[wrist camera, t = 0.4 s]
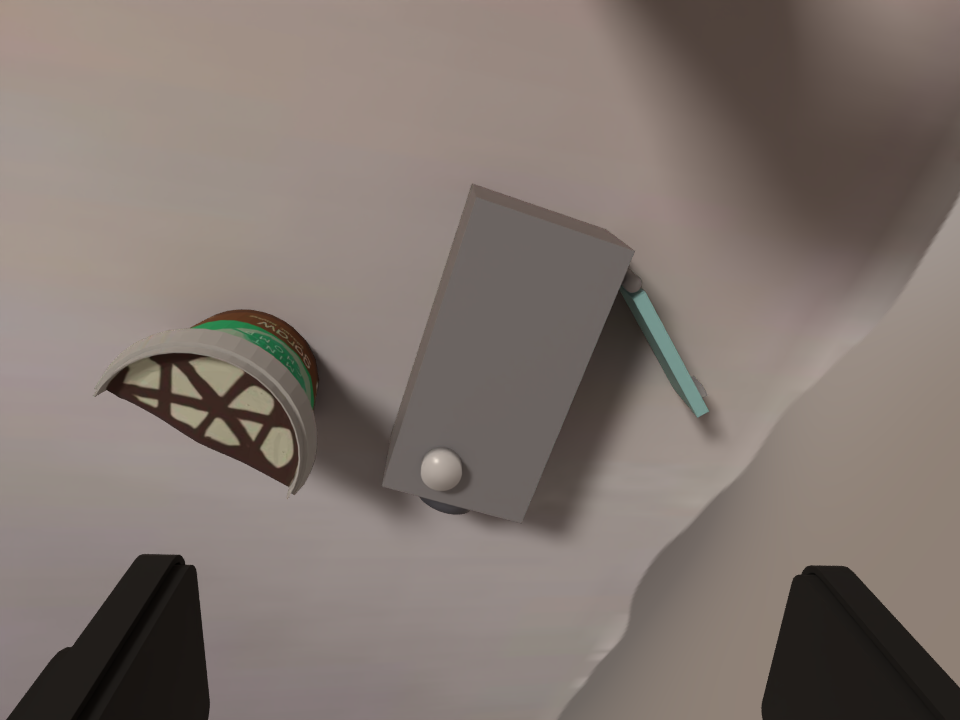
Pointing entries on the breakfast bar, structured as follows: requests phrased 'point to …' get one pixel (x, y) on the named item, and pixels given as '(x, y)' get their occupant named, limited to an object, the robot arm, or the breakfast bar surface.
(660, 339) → the side door
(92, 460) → the breakfast bar surface
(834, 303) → the breakfast bar surface
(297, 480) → the food container
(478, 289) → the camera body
